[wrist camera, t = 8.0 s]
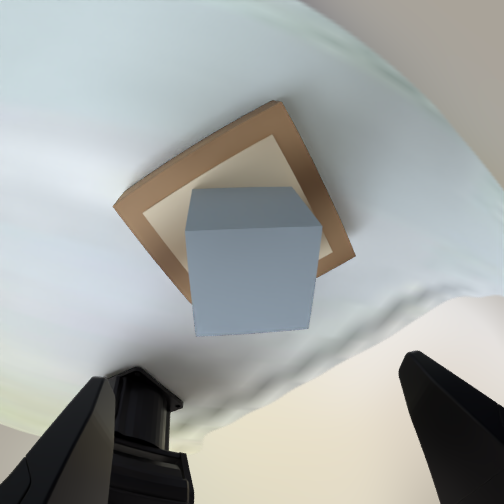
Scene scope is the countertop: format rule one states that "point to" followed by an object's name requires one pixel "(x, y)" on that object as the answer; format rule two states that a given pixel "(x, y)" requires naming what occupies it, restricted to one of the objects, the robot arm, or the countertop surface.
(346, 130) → the countertop surface
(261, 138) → the base
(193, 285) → the block
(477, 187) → the countertop surface
